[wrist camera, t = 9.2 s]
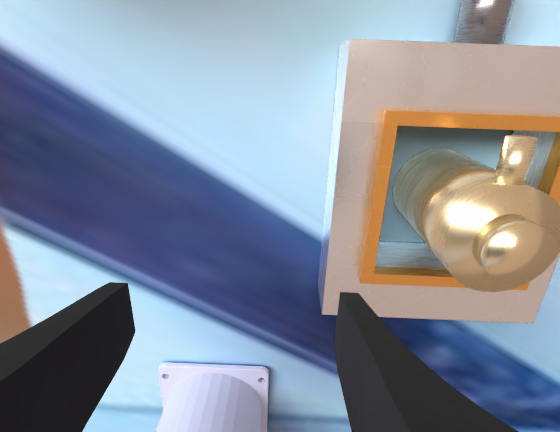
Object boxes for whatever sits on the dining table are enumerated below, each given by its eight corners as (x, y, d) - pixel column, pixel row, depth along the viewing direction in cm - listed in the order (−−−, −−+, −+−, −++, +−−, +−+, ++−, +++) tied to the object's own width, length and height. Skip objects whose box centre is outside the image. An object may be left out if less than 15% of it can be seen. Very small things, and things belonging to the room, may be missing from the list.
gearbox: (502, 292, 22) (542, 333, 19) (317, 284, 22) (323, 323, 19) (607, -19, 16) (700, -46, 12) (346, -28, 16) (362, -58, 12)
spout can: (463, 224, 20) (563, 308, 13) (387, 222, 20) (445, 306, 13) (488, 117, 18) (628, 147, 11) (403, 116, 18) (483, 145, 11)
